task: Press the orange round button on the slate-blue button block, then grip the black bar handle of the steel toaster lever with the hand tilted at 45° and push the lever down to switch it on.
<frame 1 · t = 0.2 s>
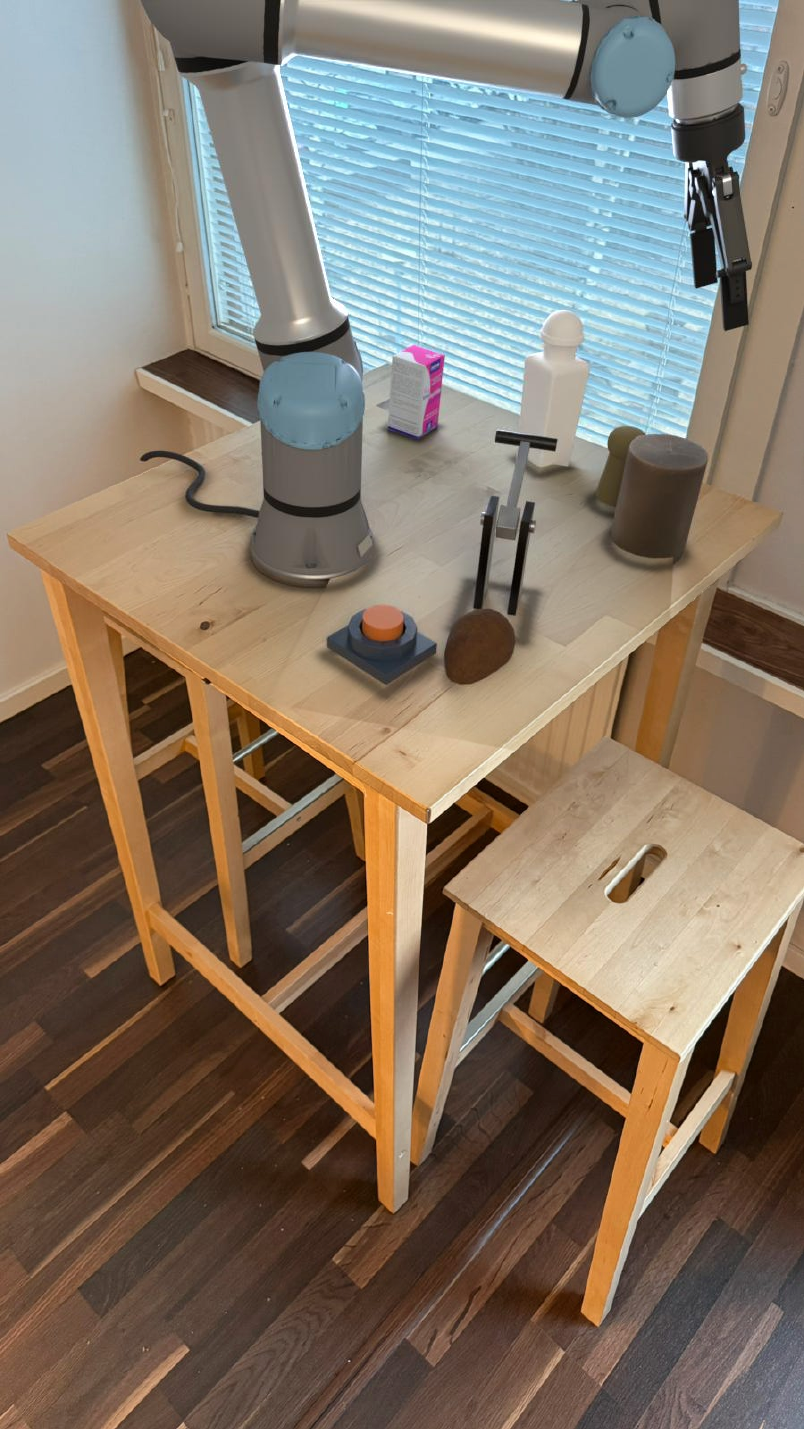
hand: (720, 305, 123), 28 cm above the table, tool tilted 20°, fingers open, 13 cm apart
lever: (516, 483, 115), point 14 cm above the table, hinge at 28.0°
button block: (381, 659, 113), on the table
olive pawn: (614, 506, 141), on the table
potato: (474, 668, 113), on the table
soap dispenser: (541, 464, 149), on the table
supplement box: (413, 429, 156), on the table
pillar candle: (645, 548, 134), on the table
button: (382, 623, 110), point 5 cm above the table, slide at 0.1 cm
lever bracket: (495, 611, 121), on the table
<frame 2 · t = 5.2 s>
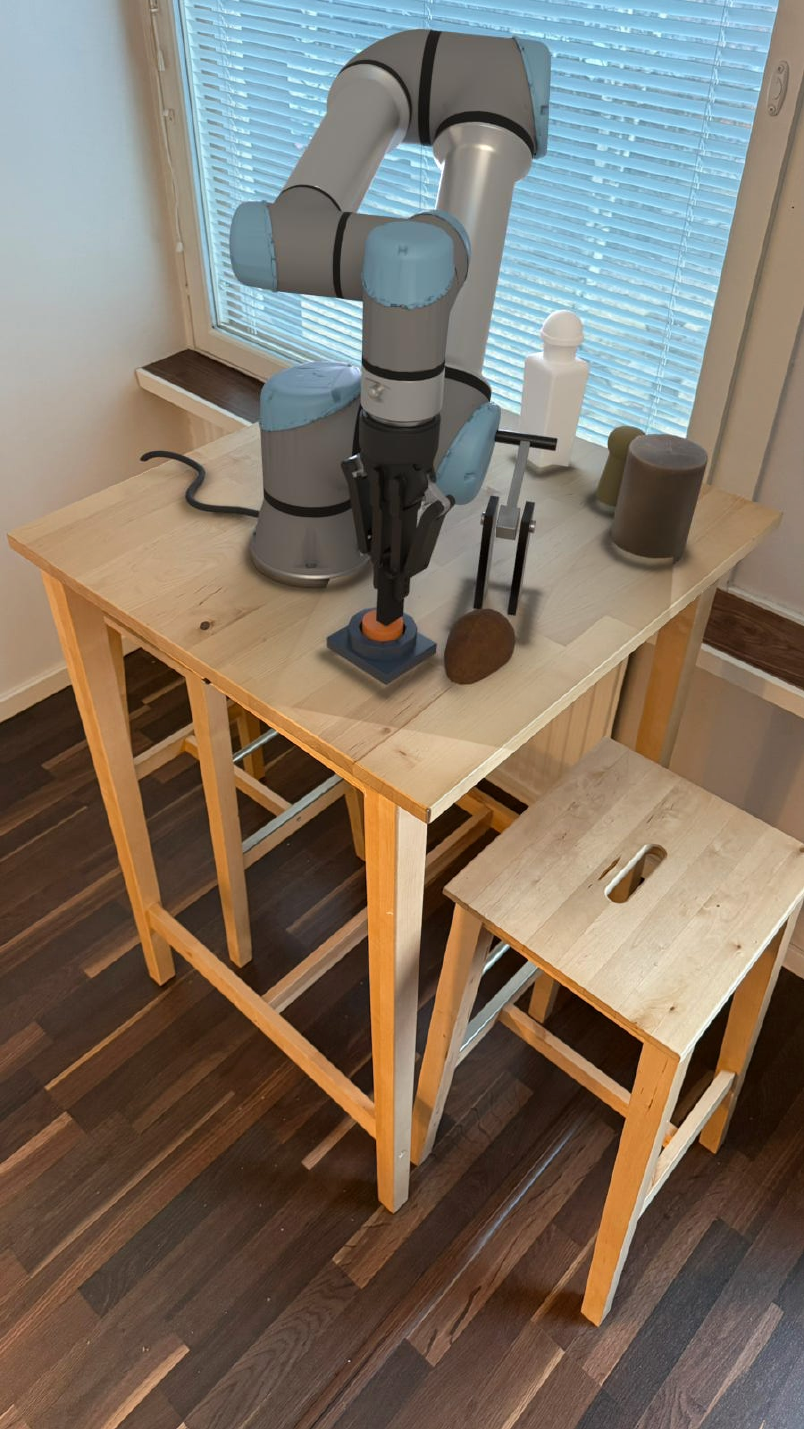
hand: (389, 617, 110), 6 cm above the table, tool pointing down, fingers closed
lever: (516, 483, 115), point 14 cm above the table, hinge at 28.5°, touching arm
button: (382, 627, 110), point 4 cm above the table, slide at -0.4 cm, touching gripper
everything else where it was.
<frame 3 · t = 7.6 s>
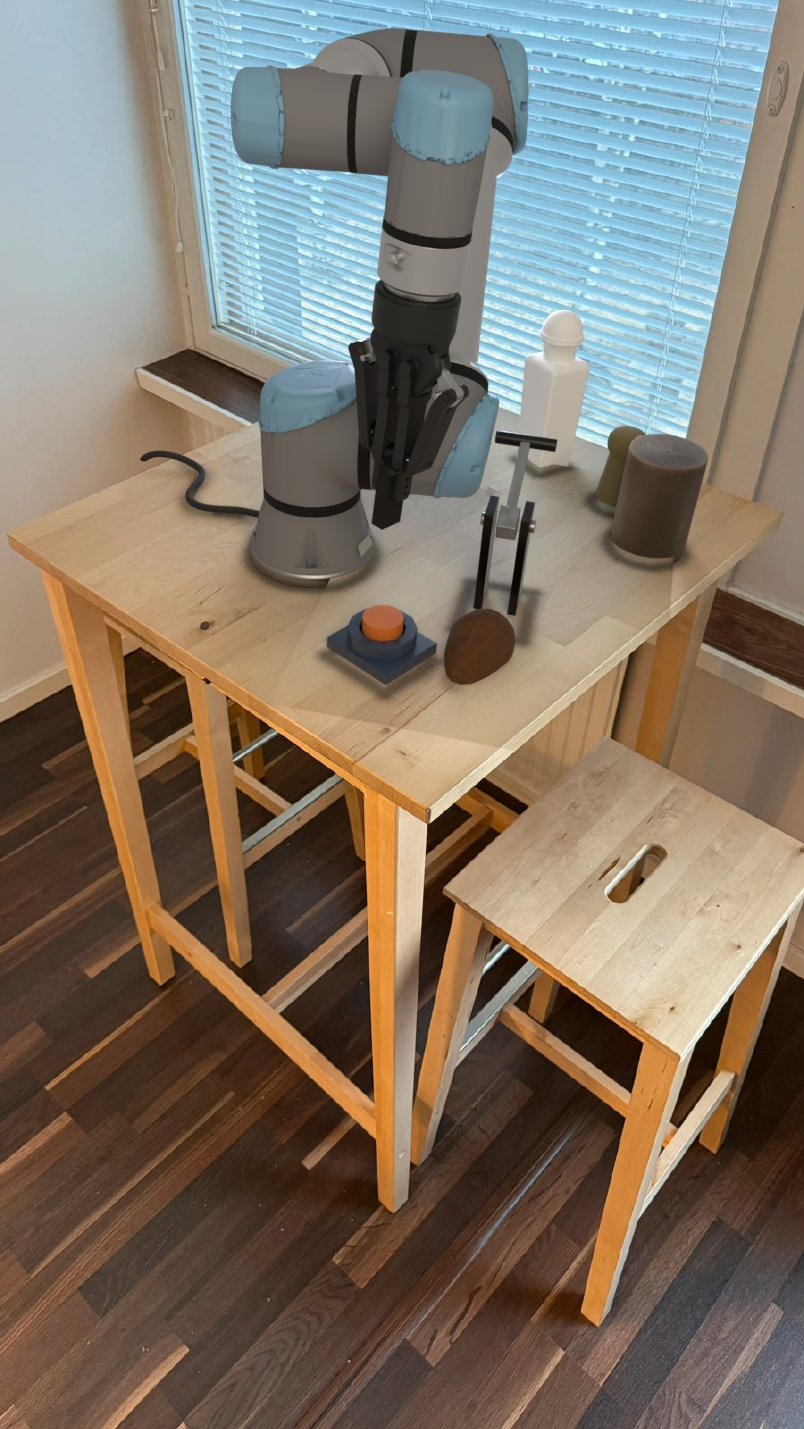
hand: (385, 522, 103), 17 cm above the table, tool pointing down, fingers closed
lever: (516, 483, 115), point 14 cm above the table, hinge at 27.4°
button: (382, 623, 110), point 5 cm above the table, slide at 0.1 cm
everything else where it was.
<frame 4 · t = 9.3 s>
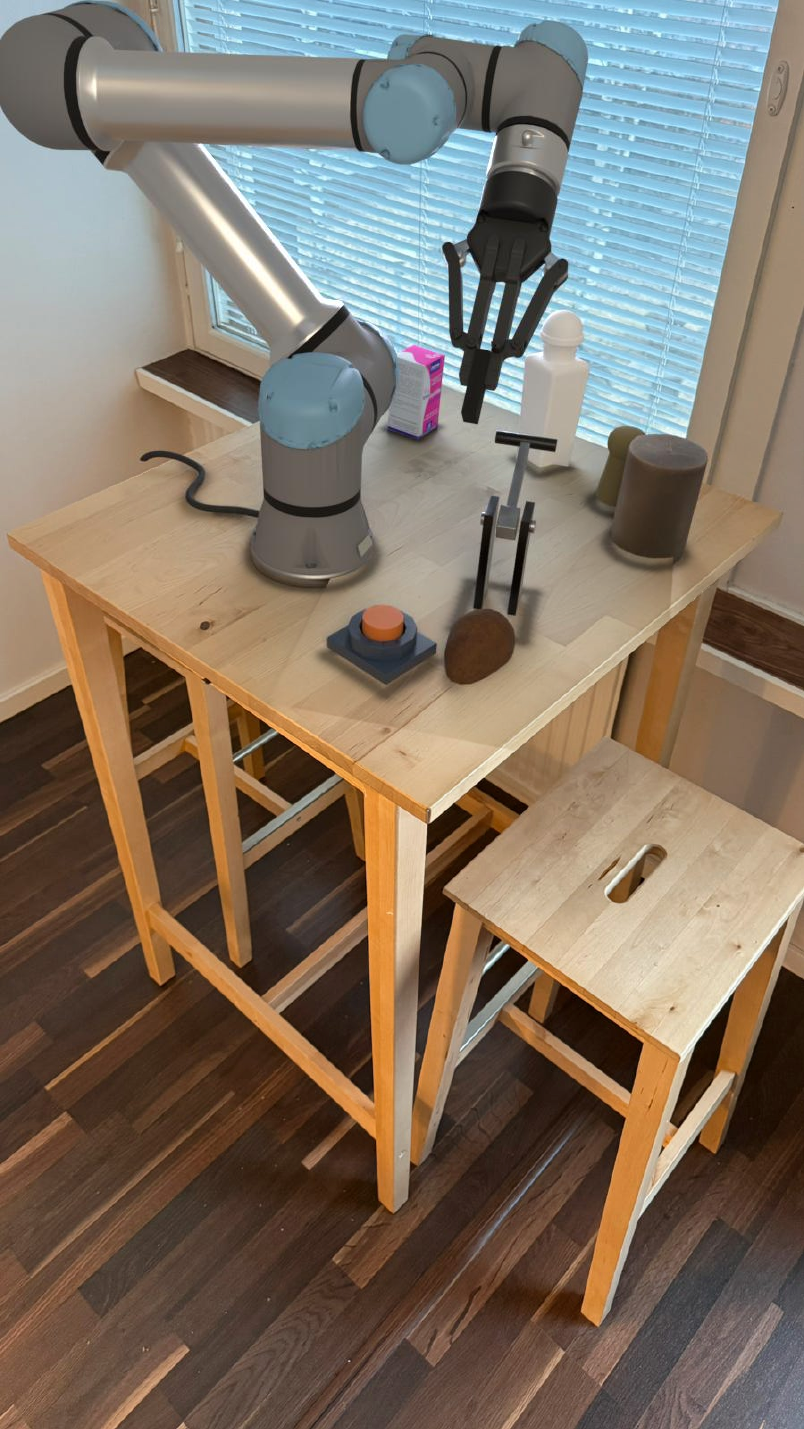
hand: (469, 418, 101), 26 cm above the table, tool tilted 45°, fingers closed
nothing on the table moved.
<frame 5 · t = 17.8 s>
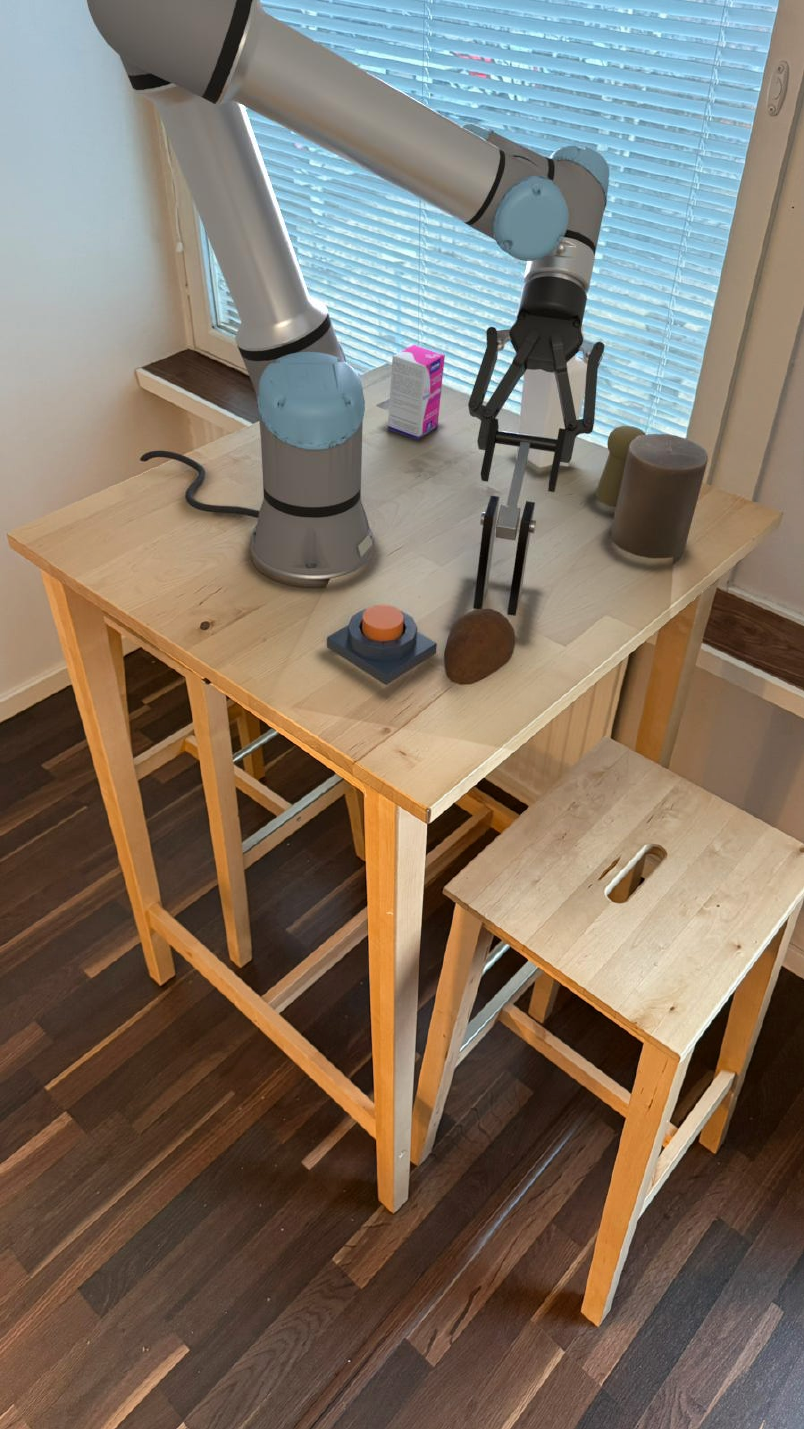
hand: (517, 482, 117), 14 cm above the table, tool tilted 45°, fingers closed on lever, 7 cm apart
lever: (516, 483, 115), point 14 cm above the table, hinge at 27.4°, touching gripper
everything else where it was.
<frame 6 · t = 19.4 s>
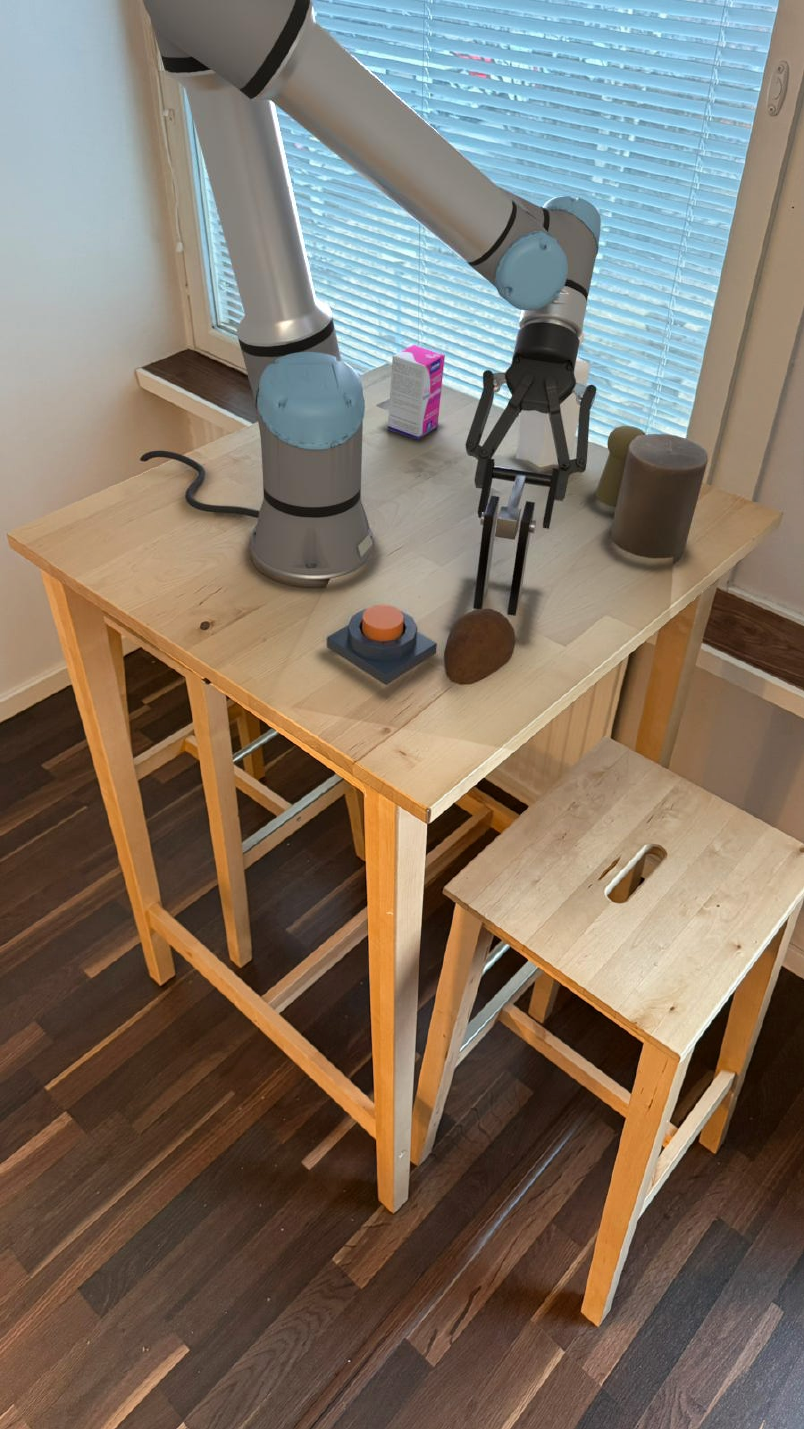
hand: (513, 520, 121), 8 cm above the table, tool tilted 45°, fingers closed on lever, 7 cm apart
lever: (514, 500, 117), point 12 cm above the table, hinge at -0.4°, touching gripper
everything else where it was.
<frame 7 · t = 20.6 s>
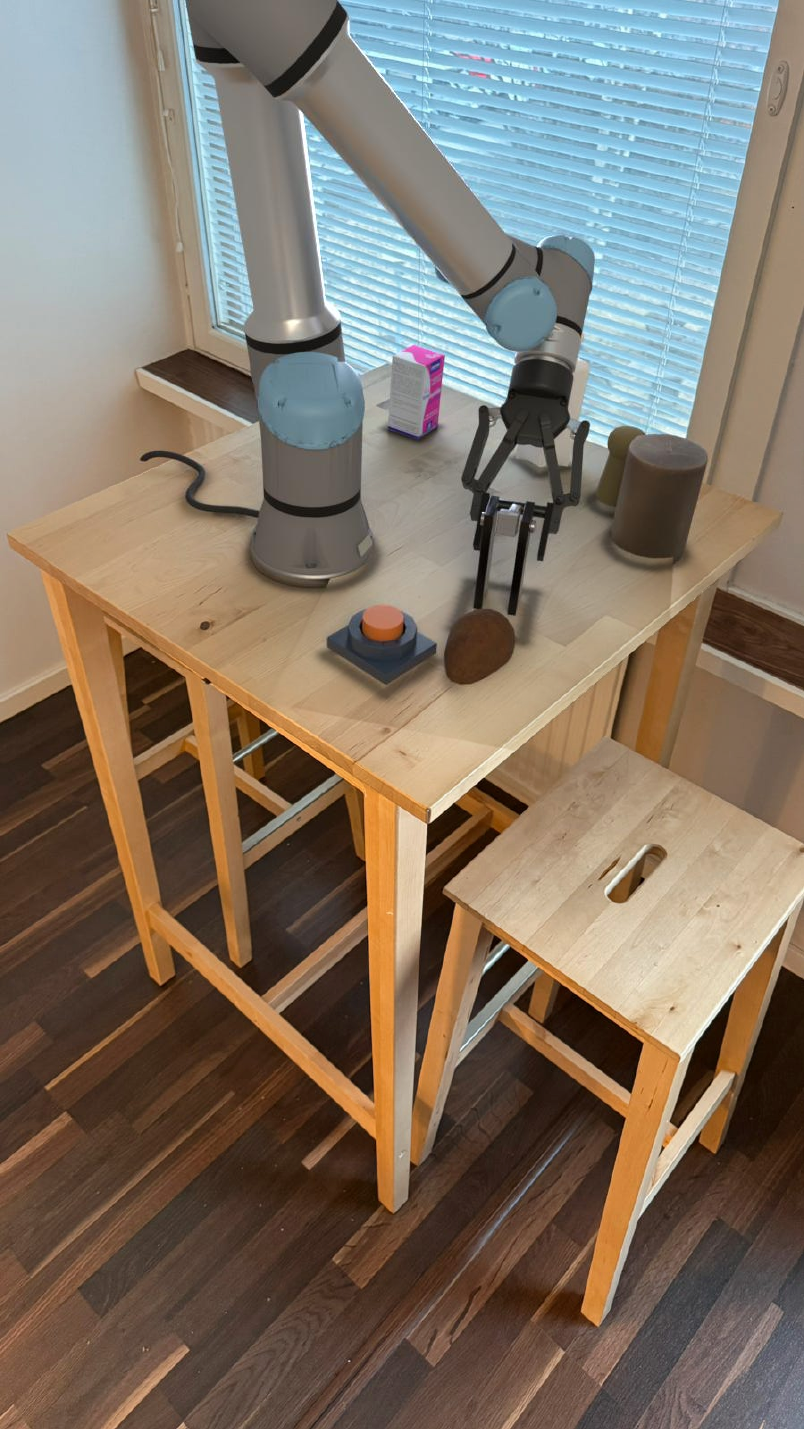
hand: (508, 552, 123), 4 cm above the table, tool tilted 45°, fingers closed on lever, 7 cm apart
lever: (512, 515, 118), point 10 cm above the table, hinge at -20.7°, touching gripper
everything else where it was.
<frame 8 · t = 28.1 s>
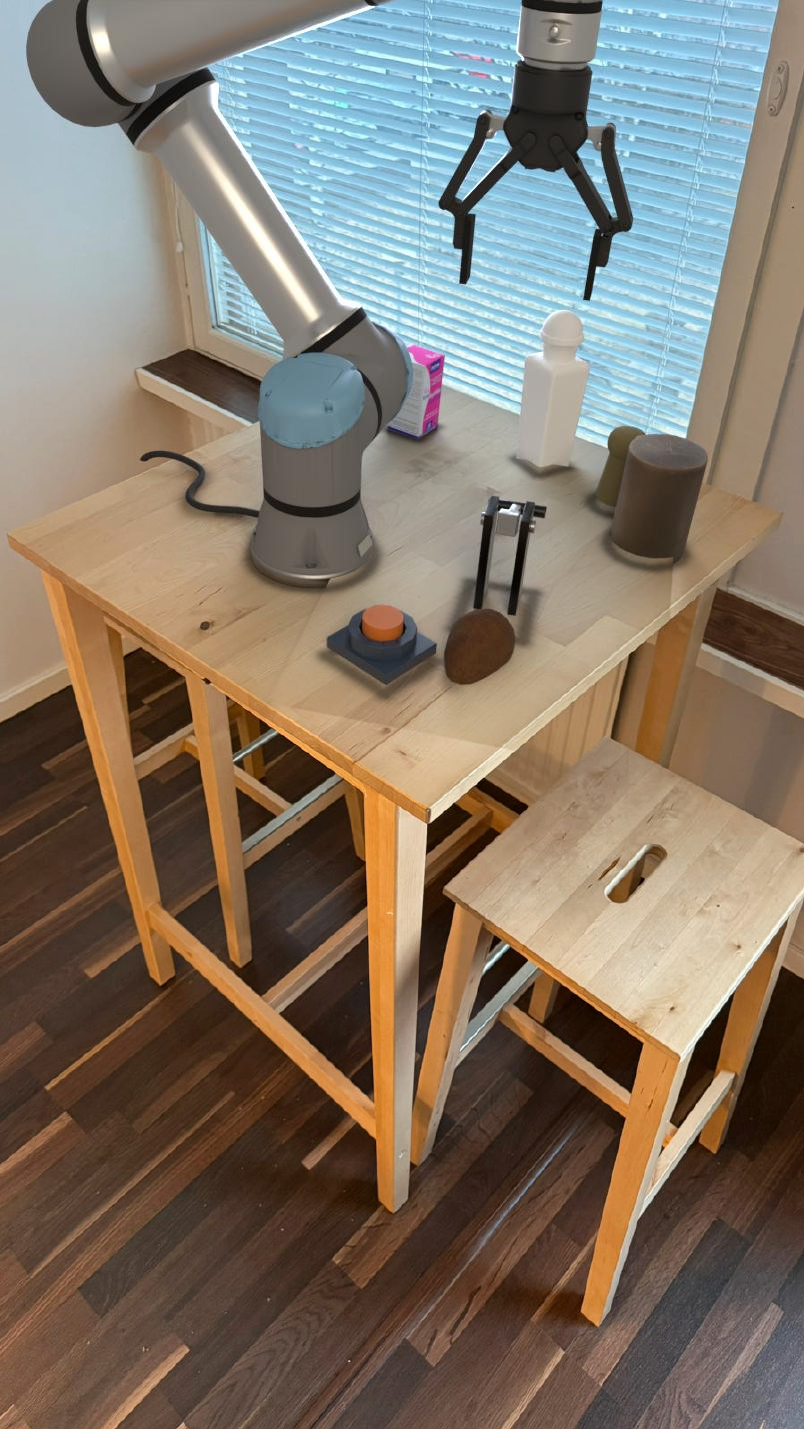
hand: (525, 288, 112), 32 cm above the table, tool pointing down, fingers open, 13 cm apart
lever: (512, 515, 118), point 10 cm above the table, hinge at -20.7°
everything else where it was.
at the end: button pushed in 1.0 cm at the most during the clip, back to where it started at the end; button slide at 0.1 cm; lever at -21° (first picture: +28°) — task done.
